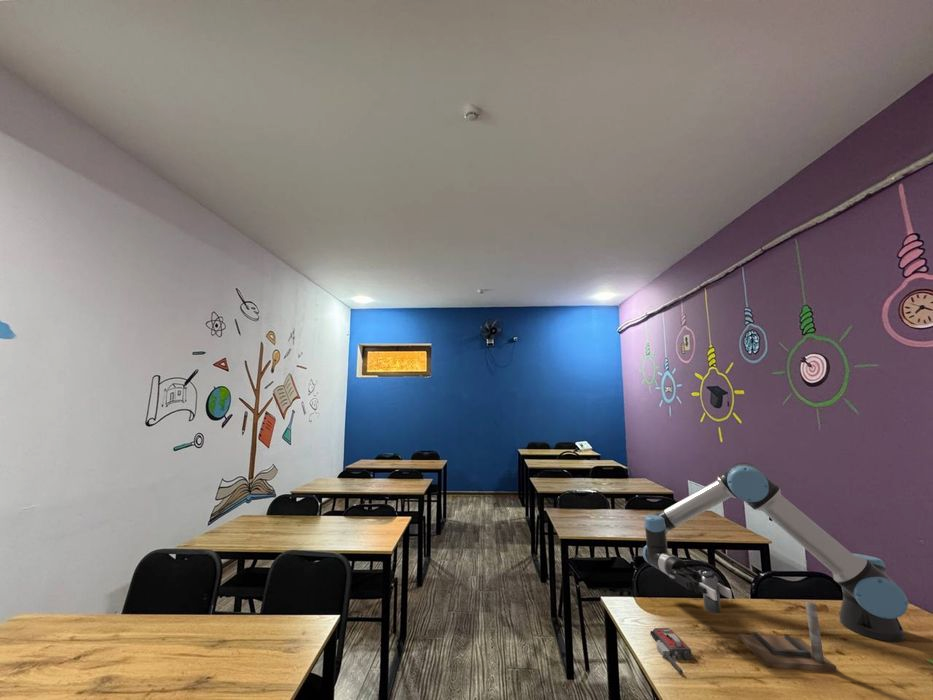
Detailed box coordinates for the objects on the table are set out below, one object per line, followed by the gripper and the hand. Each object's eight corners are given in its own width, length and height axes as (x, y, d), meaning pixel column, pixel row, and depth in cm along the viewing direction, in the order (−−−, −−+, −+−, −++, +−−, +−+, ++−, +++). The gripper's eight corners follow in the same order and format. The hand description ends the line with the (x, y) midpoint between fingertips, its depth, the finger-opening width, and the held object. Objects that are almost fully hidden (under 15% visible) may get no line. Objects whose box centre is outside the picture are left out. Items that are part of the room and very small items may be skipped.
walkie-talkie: (644, 636, 127) (678, 677, 107) (643, 621, 127) (676, 660, 108) (670, 636, 127) (709, 677, 107) (669, 621, 127) (707, 659, 108)
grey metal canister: (713, 605, 129) (709, 568, 131) (724, 612, 124) (720, 573, 126) (701, 606, 128) (697, 569, 130) (711, 613, 124) (707, 574, 126)
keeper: (803, 642, 122) (796, 586, 124) (840, 672, 108) (831, 607, 111) (739, 639, 124) (733, 583, 127) (767, 667, 110) (759, 604, 113)
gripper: (696, 576, 145) (749, 605, 123) (653, 579, 143) (699, 610, 120) (694, 554, 147) (746, 580, 124) (651, 558, 144) (696, 584, 121)
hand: (723, 595), depth 122 cm, fingers closed on grey metal canister, 5 cm apart
